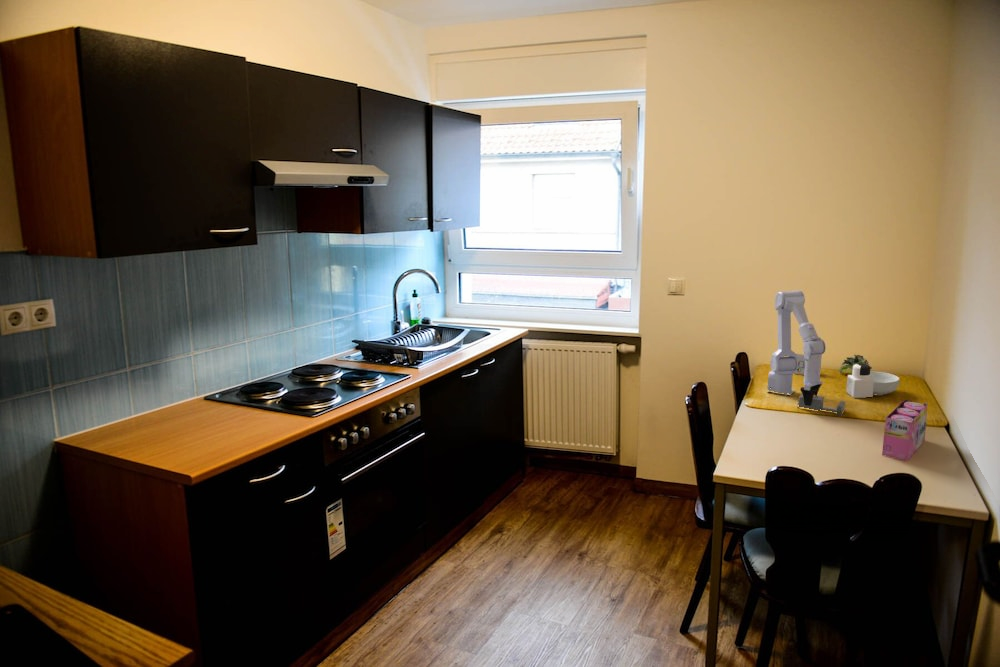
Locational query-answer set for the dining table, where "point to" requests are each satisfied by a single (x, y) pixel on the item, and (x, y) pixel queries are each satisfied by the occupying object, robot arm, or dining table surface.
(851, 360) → the potted plant
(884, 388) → the cereal bowl
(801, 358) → the electrical switch
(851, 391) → the container
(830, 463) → the dining table surface
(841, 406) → the rail
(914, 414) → the gum box
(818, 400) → the block
